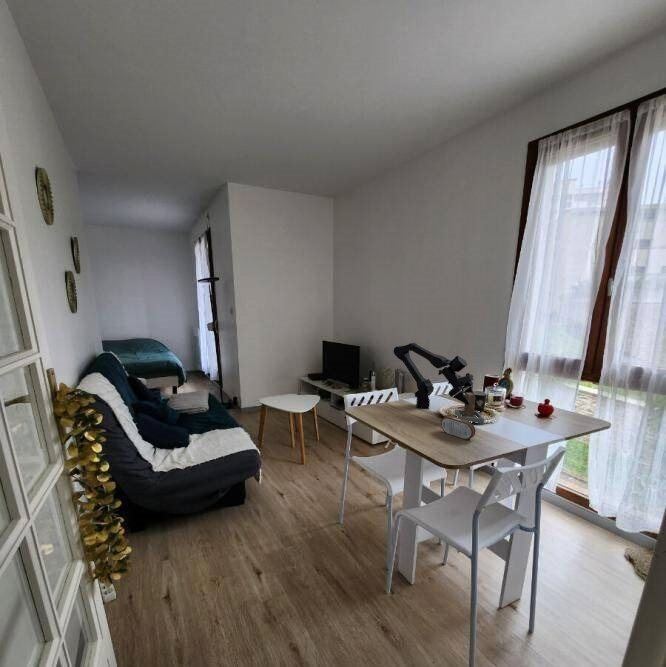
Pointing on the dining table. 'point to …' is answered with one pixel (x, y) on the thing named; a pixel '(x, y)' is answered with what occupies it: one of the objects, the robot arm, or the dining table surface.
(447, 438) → the dining table surface
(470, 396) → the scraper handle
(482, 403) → the coffee mug
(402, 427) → the dining table surface
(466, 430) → the tin
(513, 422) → the dining table surface
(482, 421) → the box
